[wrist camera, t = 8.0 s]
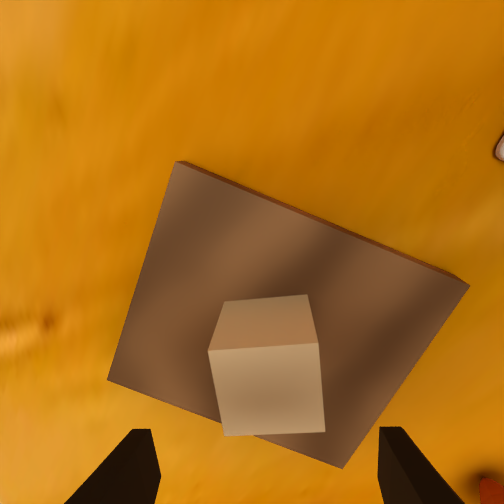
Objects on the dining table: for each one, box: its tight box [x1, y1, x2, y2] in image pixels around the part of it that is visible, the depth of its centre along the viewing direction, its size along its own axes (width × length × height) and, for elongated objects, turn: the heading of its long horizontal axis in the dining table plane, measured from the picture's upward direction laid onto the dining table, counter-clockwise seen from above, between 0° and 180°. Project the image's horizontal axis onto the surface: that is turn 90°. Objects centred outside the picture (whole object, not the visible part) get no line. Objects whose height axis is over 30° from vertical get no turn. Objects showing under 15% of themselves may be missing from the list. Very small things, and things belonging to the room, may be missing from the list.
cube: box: [208, 294, 325, 436], centre depth 15 cm, size 4×4×4 cm
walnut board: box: [107, 161, 470, 469], centre depth 18 cm, size 16×14×2 cm
